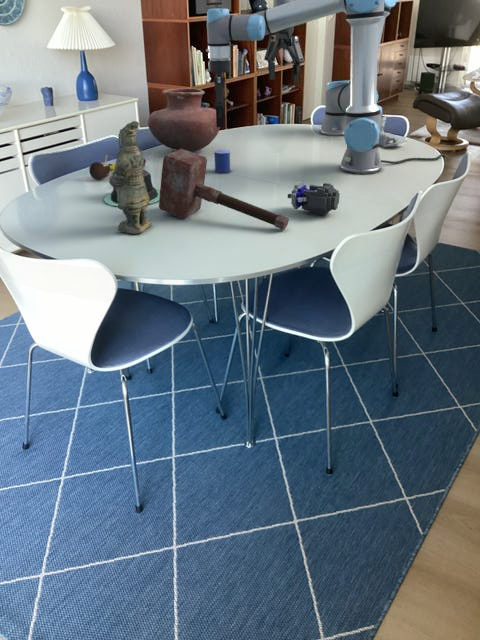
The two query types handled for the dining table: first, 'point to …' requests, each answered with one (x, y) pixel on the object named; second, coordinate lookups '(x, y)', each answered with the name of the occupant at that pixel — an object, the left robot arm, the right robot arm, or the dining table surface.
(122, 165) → the statue
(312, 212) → the toy
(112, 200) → the chocolate cake
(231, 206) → the sledgehammer
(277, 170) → the dining table surface
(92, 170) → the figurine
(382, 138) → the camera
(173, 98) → the clay pot
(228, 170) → the can
